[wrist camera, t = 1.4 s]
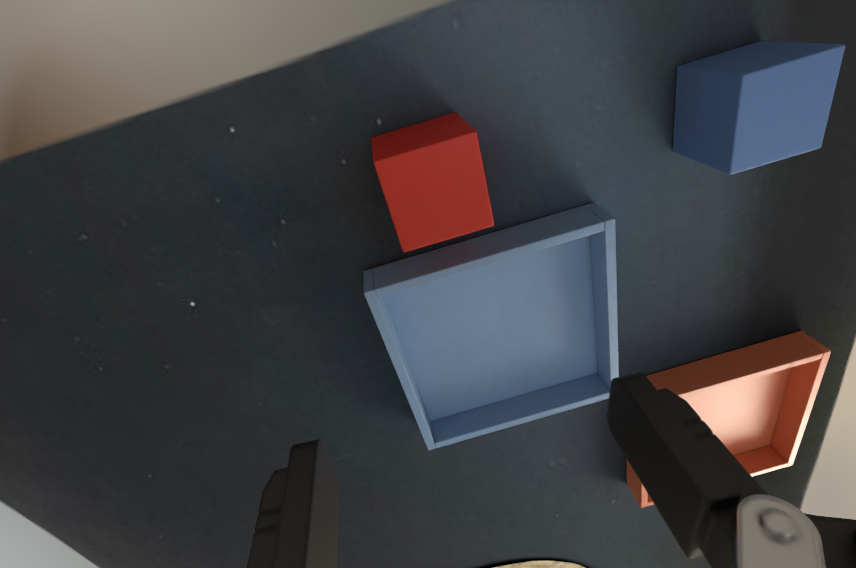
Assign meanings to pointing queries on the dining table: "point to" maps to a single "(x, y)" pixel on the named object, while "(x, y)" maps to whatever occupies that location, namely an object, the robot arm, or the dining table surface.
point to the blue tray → (502, 324)
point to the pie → (542, 565)
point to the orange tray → (750, 400)
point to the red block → (433, 181)
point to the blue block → (755, 103)
